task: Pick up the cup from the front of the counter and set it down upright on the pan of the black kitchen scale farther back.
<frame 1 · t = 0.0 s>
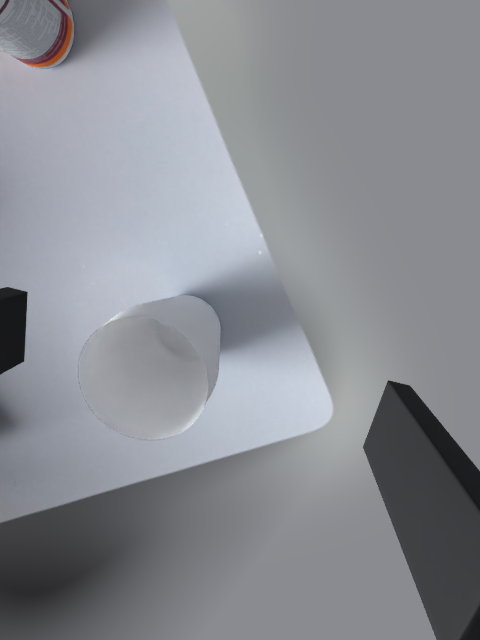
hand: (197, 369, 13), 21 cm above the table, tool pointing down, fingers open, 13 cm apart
cup: (187, 327, 34), on the table
pill bottle: (43, 29, 29), on the table
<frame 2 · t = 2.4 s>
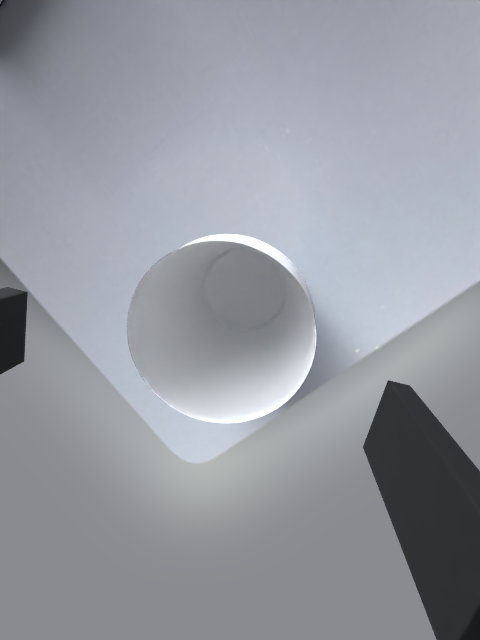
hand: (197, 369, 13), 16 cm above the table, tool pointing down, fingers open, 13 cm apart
cup: (244, 289, 28), on the table
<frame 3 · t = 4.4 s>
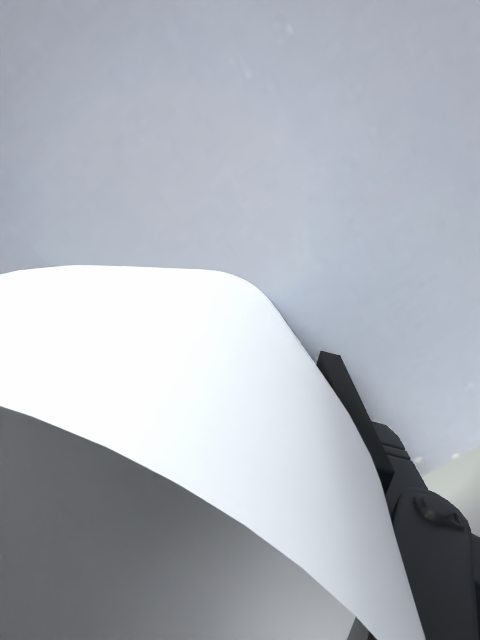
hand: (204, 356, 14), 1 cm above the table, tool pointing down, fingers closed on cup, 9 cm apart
cup: (209, 347, 15), on the table, touching gripper
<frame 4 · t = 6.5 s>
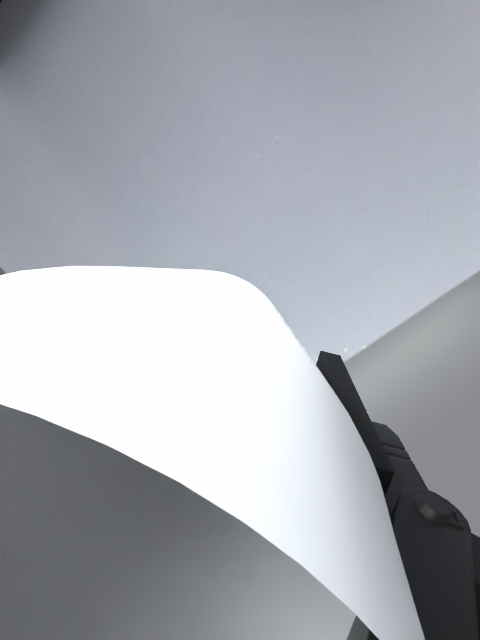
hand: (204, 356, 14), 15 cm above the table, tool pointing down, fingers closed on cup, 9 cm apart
cup: (209, 347, 15), point 14 cm above the table, touching gripper
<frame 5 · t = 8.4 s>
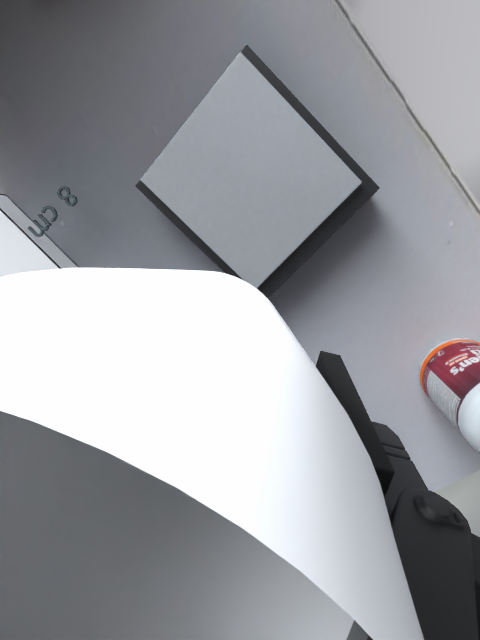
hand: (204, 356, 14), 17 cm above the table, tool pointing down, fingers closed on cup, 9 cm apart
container: (9, 264, 32), on the table
cup: (209, 348, 15), point 16 cm above the table, touching gripper
pill bottle: (451, 369, 31), on the table
scale: (255, 190, 28), on the table
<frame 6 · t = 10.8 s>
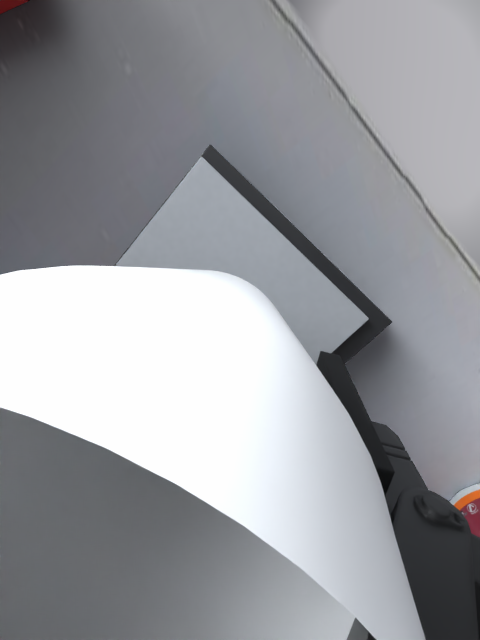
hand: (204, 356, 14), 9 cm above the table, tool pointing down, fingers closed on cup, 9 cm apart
cup: (209, 348, 15), point 8 cm above the table, touching gripper
scale: (233, 306, 22), on the table
when the fingers open (4 cm above the table, at t = 12.4 s): cup stays where it is, resting on scale.
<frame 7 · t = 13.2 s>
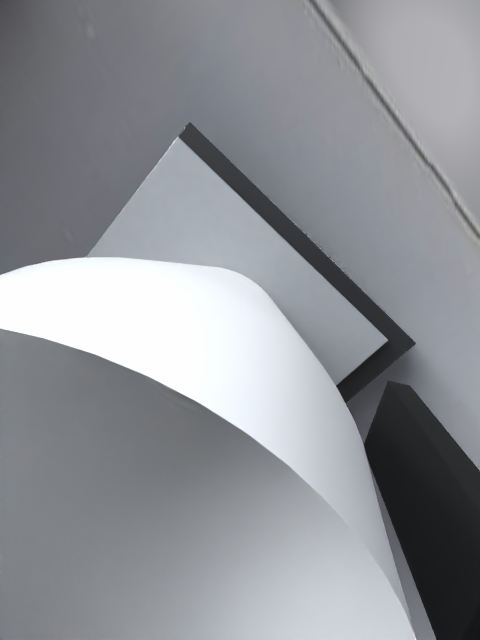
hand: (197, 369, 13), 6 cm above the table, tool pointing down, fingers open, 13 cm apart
cup: (210, 340, 16), point 3 cm above the table, touching scale
scale: (222, 320, 19), on the table
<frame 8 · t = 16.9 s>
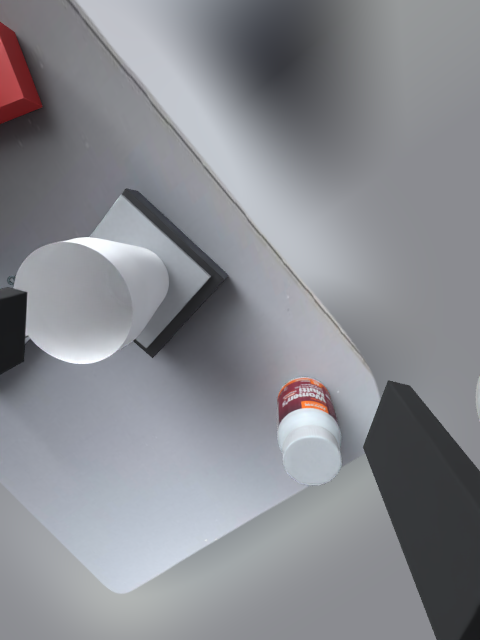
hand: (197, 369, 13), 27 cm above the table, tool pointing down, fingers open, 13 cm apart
cup: (138, 279, 36), point 3 cm above the table, touching scale
pill bottle: (303, 398, 42), on the table
scale: (150, 274, 39), on the table
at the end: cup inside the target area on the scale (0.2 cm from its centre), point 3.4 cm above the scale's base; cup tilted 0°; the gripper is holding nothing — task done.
